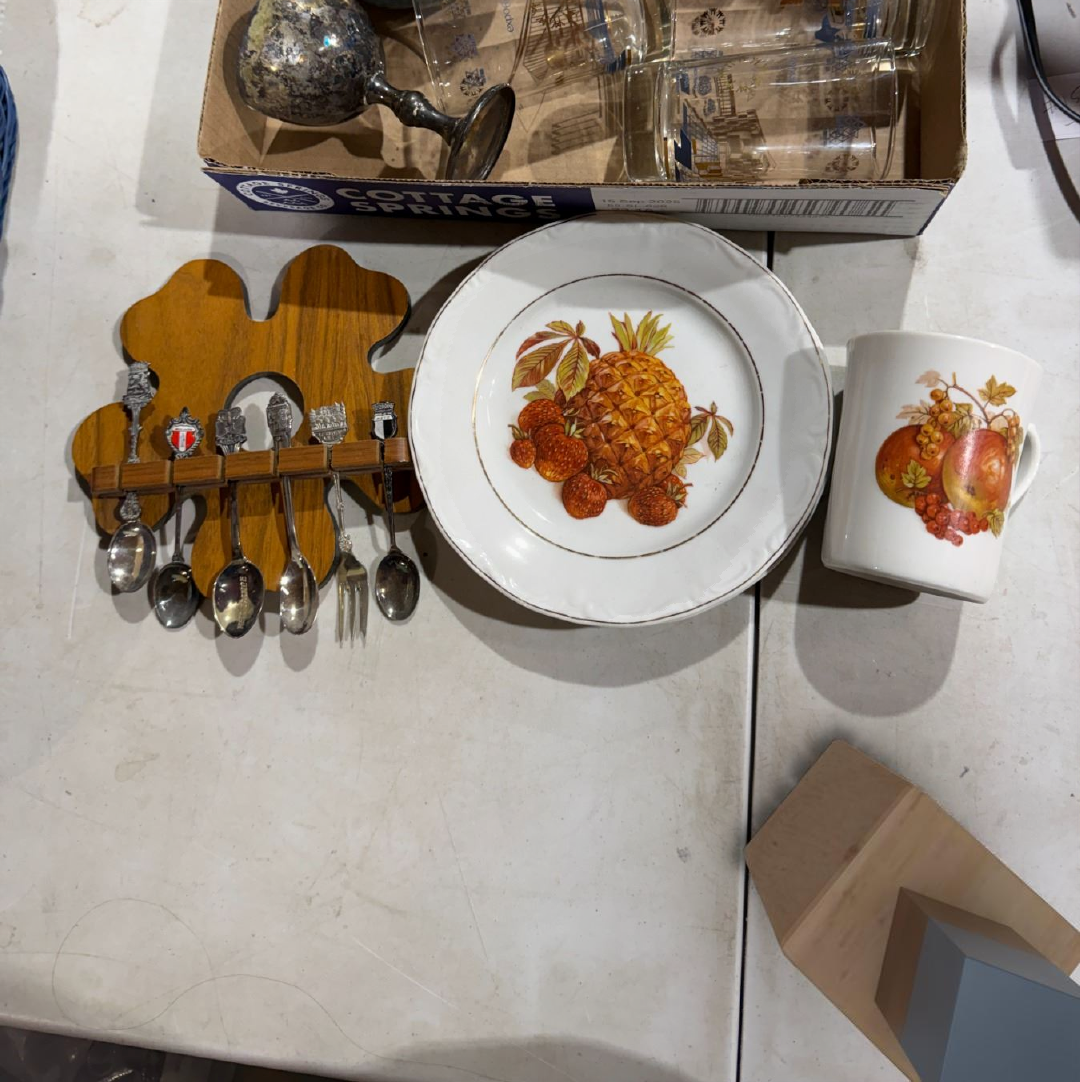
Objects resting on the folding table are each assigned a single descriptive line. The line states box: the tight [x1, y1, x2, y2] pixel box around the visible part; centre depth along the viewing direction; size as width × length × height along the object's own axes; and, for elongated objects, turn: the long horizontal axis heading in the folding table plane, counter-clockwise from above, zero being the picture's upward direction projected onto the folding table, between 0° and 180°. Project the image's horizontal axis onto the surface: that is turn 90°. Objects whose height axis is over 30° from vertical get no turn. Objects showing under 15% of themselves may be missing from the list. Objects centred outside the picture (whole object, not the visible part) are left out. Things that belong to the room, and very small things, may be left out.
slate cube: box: [901, 917, 1080, 1082], centre depth 37 cm, size 5×5×5 cm
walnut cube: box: [874, 887, 1051, 1045], centre depth 42 cm, size 5×5×5 cm
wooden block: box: [742, 738, 1080, 1082], centre depth 54 cm, size 10×10×20 cm
